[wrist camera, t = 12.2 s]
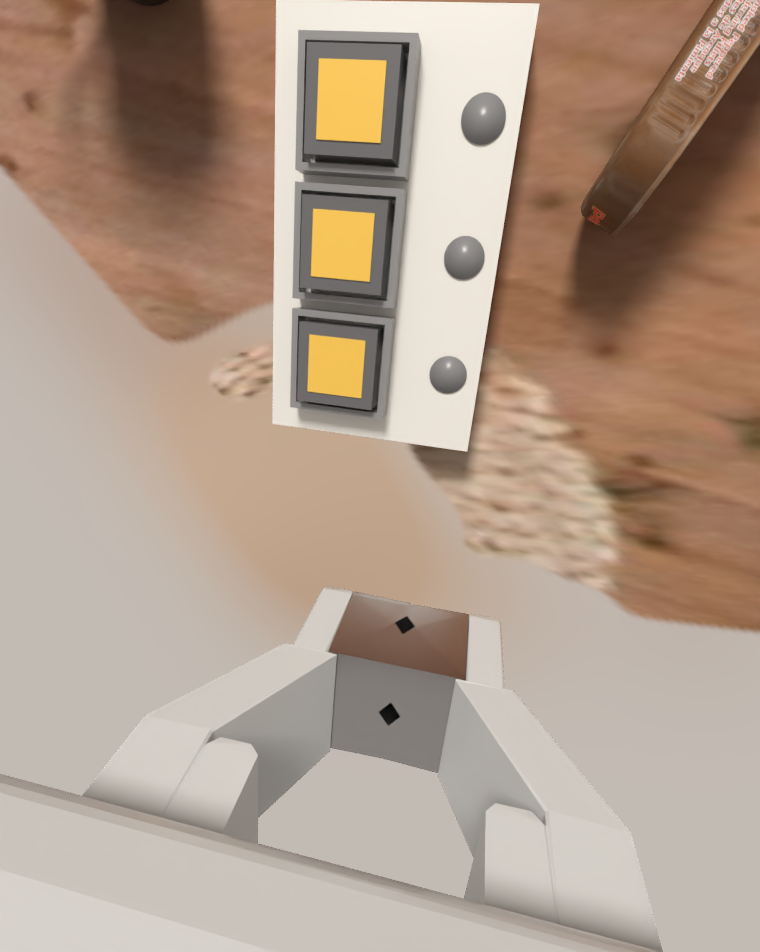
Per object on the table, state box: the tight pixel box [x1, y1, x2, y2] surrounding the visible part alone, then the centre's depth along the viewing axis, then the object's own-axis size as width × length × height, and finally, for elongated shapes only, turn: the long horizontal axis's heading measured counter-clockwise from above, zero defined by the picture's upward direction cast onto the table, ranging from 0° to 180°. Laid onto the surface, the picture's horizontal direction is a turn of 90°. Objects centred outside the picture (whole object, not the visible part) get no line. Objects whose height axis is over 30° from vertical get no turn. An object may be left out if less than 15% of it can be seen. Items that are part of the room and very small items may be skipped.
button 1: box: [304, 42, 407, 167], centre depth 28 cm, size 5×5×2 cm
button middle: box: [300, 194, 394, 296], centre depth 30 cm, size 5×5×2 cm
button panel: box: [273, 0, 539, 452], centre depth 32 cm, size 14×24×4 cm, turn 175°
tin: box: [581, 0, 760, 237], centre depth 24 cm, size 15×3×8 cm, turn 150°
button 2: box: [297, 319, 384, 410], centre depth 33 cm, size 5×5×2 cm
